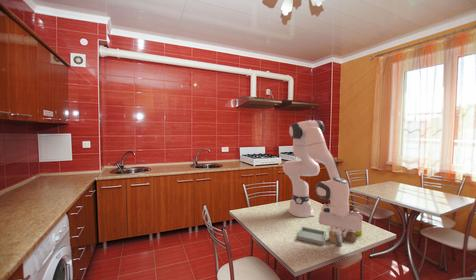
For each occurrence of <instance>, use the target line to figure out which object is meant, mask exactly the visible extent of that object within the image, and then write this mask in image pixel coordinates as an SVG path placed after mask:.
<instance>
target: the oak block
mask: <svg viewBox="0 0 476 280" xmlns="http://www.w3.org/2000/svg"><path fill="white" fill-rule="evenodd" d="M333 229H334V231H336V227H333ZM328 231H329V232H328V241H329V242H331V243H335V244H336V235H333V231H332V230H331V228H330V227H329V229H328Z"/></svg>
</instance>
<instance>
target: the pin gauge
mask: <svg viewBox="0 0 476 280" xmlns="http://www.w3.org/2000/svg"><path fill="white" fill-rule="evenodd" d="M335 229H336V243H335V244H336V245H335V246H336V247H341V248H342V246H343V239H342V228H337V227H335Z"/></svg>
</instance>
